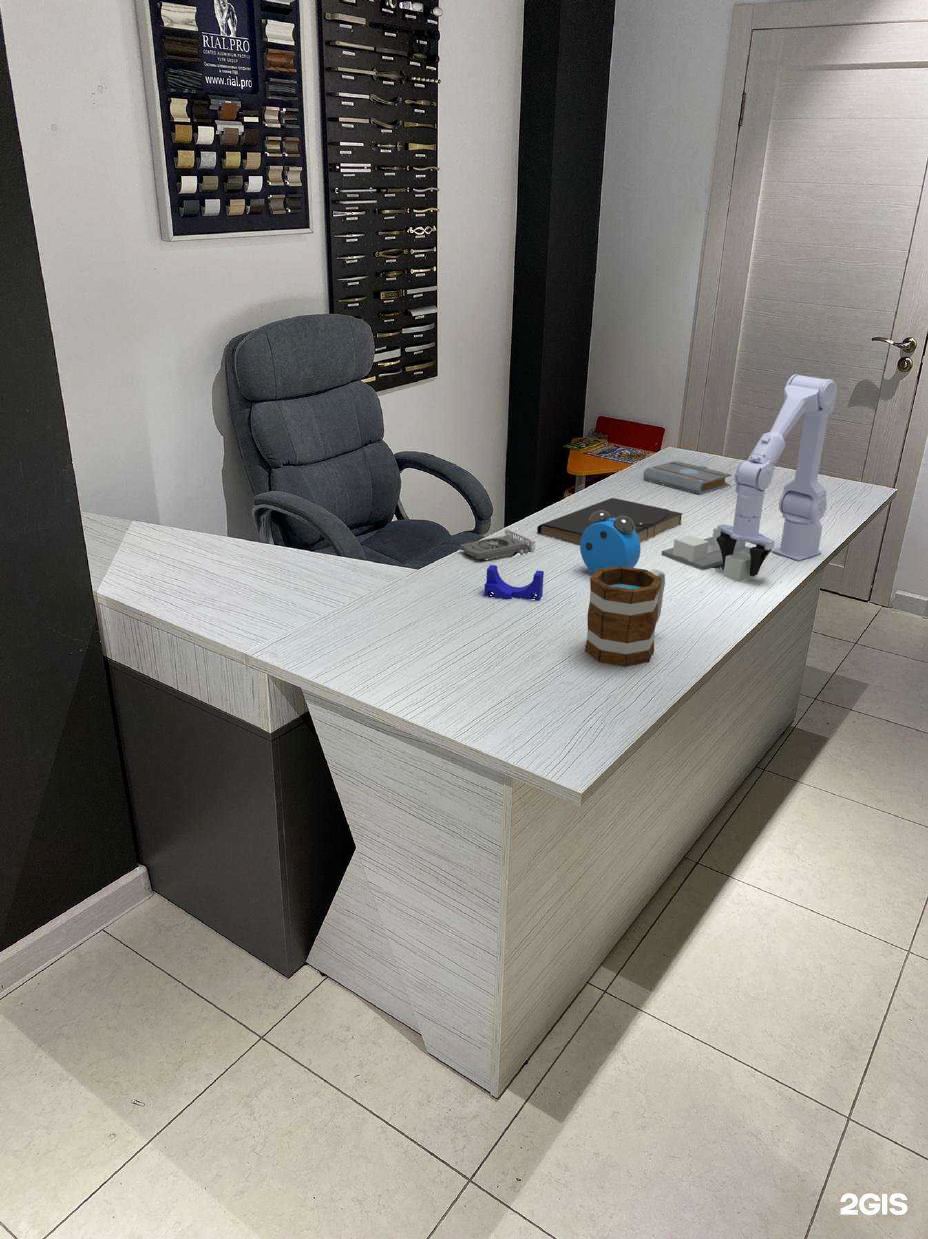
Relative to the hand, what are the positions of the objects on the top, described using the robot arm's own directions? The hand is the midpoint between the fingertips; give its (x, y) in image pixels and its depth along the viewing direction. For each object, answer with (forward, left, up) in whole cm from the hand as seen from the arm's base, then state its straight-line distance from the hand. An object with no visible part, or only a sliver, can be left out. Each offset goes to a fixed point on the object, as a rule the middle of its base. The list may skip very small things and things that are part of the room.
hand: (740, 570), depth 221 cm
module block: (0, 0, -2) cm, 2 cm away
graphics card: (+36, -46, -2) cm, 59 cm away
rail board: (-6, -14, -1) cm, 15 cm away
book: (-52, -61, -2) cm, 80 cm away
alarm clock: (+25, -18, -2) cm, 31 cm away
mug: (+49, +12, -2) cm, 50 cm away
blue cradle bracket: (+51, -21, -2) cm, 55 cm away
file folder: (0, -42, -2) cm, 42 cm away
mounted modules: (-6, -14, -1) cm, 15 cm away
